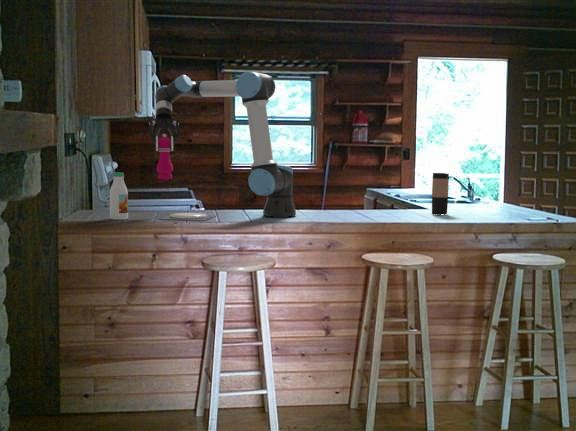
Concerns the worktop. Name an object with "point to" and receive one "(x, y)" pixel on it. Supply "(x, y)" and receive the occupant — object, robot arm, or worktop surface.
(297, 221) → the worktop surface
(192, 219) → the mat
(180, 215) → the plate
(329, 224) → the worktop surface
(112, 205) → the milk bottle
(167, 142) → the pepper mill
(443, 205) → the travel mug
